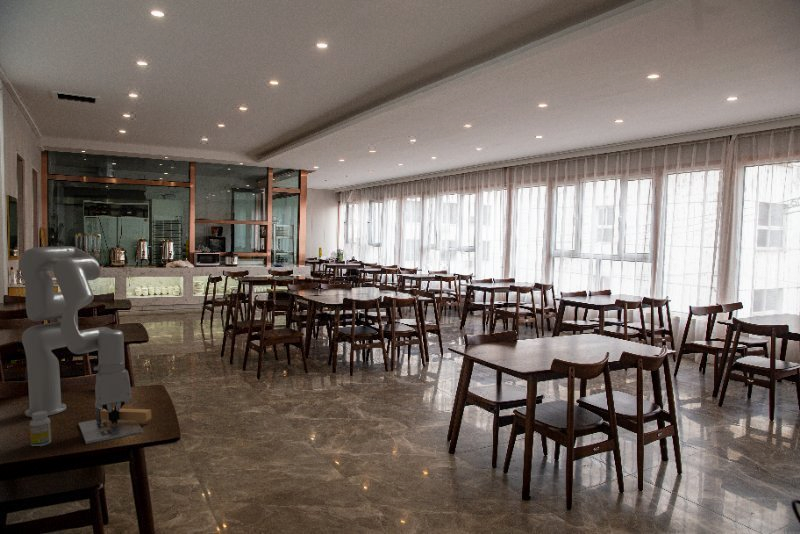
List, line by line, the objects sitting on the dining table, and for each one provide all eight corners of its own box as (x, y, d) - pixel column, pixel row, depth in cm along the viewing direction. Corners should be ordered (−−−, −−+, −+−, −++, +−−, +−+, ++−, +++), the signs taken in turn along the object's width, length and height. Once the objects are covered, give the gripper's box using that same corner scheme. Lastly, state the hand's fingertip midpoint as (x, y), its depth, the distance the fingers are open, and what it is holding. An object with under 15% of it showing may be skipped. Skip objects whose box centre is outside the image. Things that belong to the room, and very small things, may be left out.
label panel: (78, 425, 182) (77, 409, 181) (131, 415, 191) (130, 399, 191) (86, 444, 166) (85, 426, 165) (143, 432, 175) (142, 415, 175)
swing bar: (100, 419, 183) (100, 410, 183) (106, 416, 186) (106, 407, 186) (146, 421, 181) (145, 412, 181) (151, 418, 184) (151, 409, 184)
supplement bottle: (44, 447, 164) (42, 416, 163) (26, 447, 164) (24, 416, 163) (55, 440, 169) (53, 410, 168) (38, 440, 169) (36, 410, 169)
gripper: (87, 374, 171) (89, 430, 173) (138, 367, 180) (140, 421, 181) (84, 368, 177) (87, 423, 179) (134, 362, 186) (136, 414, 187)
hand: (114, 422), depth 180 cm, fingers closed
